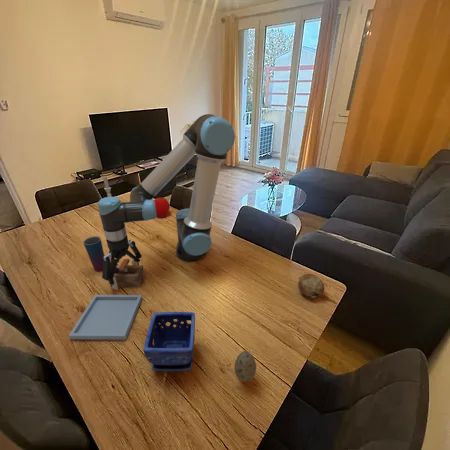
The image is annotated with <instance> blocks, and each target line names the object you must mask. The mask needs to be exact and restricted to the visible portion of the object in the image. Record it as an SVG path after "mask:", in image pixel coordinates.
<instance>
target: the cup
mask: <svg viewBox="0 0 450 450" xmlns="http://www.w3.org/2000/svg"><path fill="white" fill-rule="evenodd" d="M82 243H83V246H84V248H85V250H86V253H87V255H88V258H89V260H90V262H91V265H92V267H93V270H94V271H95V272H103V258H102V256H103V255H105V253H104V248H103V243H102V238H101V237H100V236H95V235H94V236H90V237H87V238H85V239H84V240H83V242H82Z"/></svg>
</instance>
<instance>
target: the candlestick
mask: <svg viewBox="0 0 450 450" xmlns="http://www.w3.org/2000/svg"><path fill="white" fill-rule="evenodd" d="M102 179H103V183H104V188H103V189H104V190H105V192H106V195H107V197H113V196H112V193H111V189H112V187H110V184H109V182H108V177H107V176H106V175H104V176H103V177H102Z"/></svg>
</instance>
